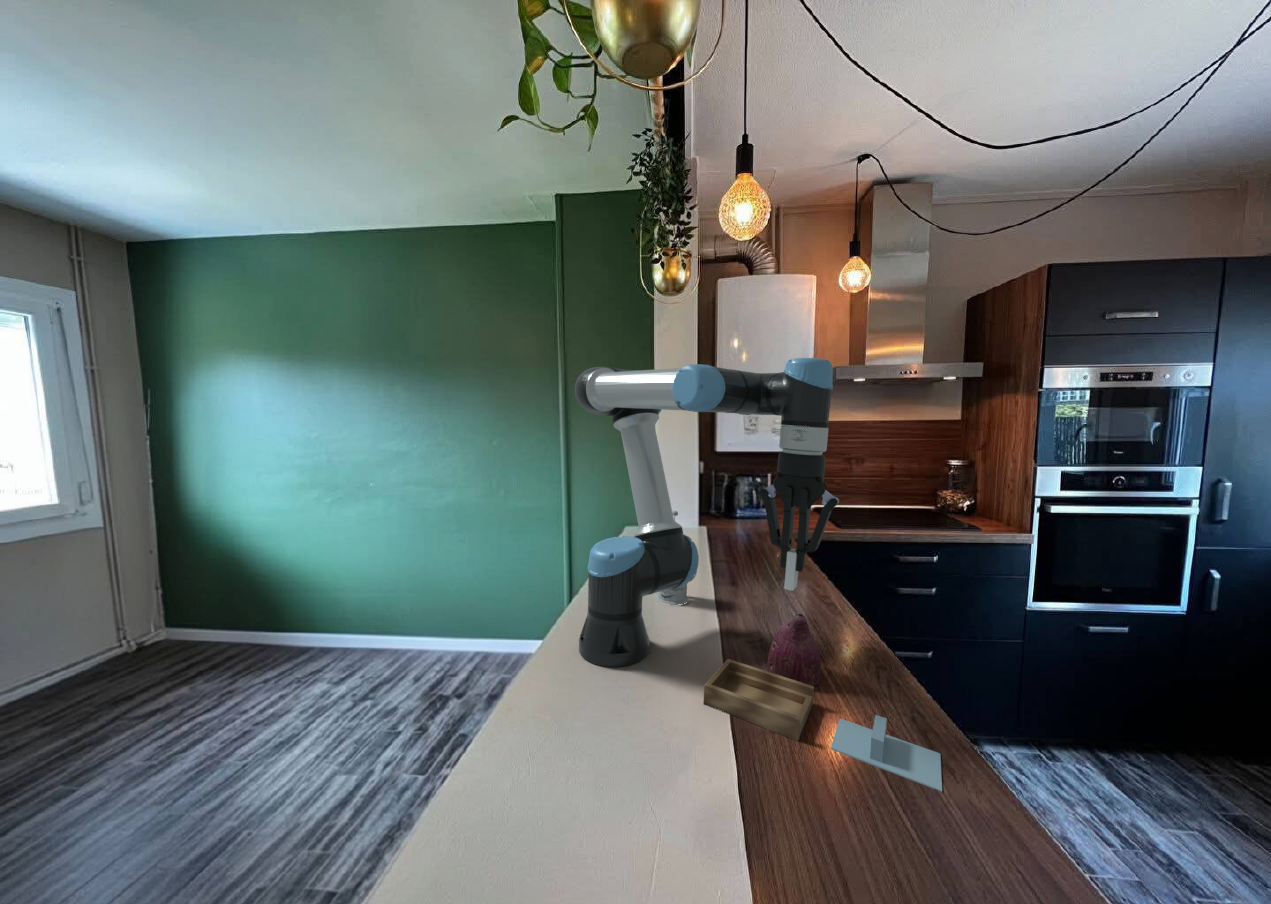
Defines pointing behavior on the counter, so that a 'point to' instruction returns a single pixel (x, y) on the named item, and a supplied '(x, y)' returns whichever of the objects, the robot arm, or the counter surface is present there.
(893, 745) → the lid
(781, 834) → the counter surface
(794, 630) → the vegetable
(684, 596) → the french press
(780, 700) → the pencil box
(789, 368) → the robot arm
